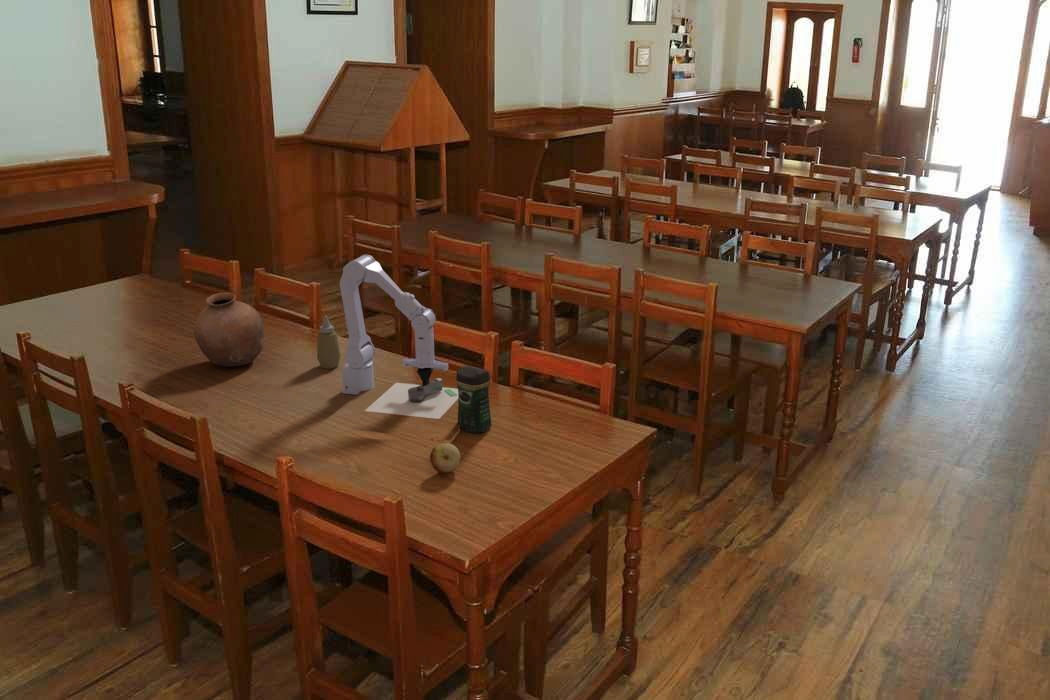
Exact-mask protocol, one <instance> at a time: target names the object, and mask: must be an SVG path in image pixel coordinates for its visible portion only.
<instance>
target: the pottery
mask: <svg viewBox="0 0 1050 700" xmlns="http://www.w3.org/2000/svg"><path fill="white" fill-rule="evenodd" d="M236 297H237V296H236V295H235V293H233V292H218V293H214V294H211V295H210V296H208V297H206V300H205V303H206V307H205V308H203V309H202V311H201V312H199V314H198V316H197V317H196V320H195V322H194V328H193V329H194V330H193V333H194V338H195V341H196V343H197V346H198V347H199V349H200V350H201V352H202V353H203V355H204V356H205V357H206V359H207V360H209V361H210V362H211V363H213V364H215V365H217V366H221V367H225V368H227V367H228V368H231V367H233V368H234V367H235V368H236V367H241V366H246V365H248V364H251V363H252V362H253V361H255V360H256V359H257V358H258V356H259V355H260V354H261V352H262V351H263V348H264V343H265V331H264V330H265V329H264V321H263V319H262V316H261V315H260V313H259V312H258V311H257V310H256V309H255V308H254V307H253V306H251V305H250V304H248V303H245V302H243V301H239V300H236Z"/></svg>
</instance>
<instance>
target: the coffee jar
mask: <svg viewBox="0 0 1050 700" xmlns="http://www.w3.org/2000/svg"><path fill="white" fill-rule="evenodd" d="M455 382H456V386H457V389H458V399H457V401H458V402H457V403H458V404H457V406H458V407H457V424H458V426H459V428H460V429H462V430H464V431H467V432H470V433H473V434H478V433H483V432H487V431H488V430H489V429H490V428H491V427H492V416H491V415H492V414H491V408H490V397H489V396H490V395H489V392H490V391H489V387H490V383H491V377H490V372H489V370H486V369H483V368H479V367H476V366H472V365H469V364H466V365H464V366H460V367H459V368H458V369H457V371H456V376H455Z"/></svg>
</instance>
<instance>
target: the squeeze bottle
mask: <svg viewBox="0 0 1050 700" xmlns="http://www.w3.org/2000/svg"><path fill="white" fill-rule="evenodd" d="M316 339H317V343H316V344H317V346H316V347H317V348H316V349H317V350H316V352H317V353H316V355H317V356H316V358H317V359H316V360H317V361H318V363H319V365H320V367H321V369H324V368H325V369H326V370H329V369H330V370H331V368H332V369H335V367H336V368H337V367H338V366H339V365H340V361H341V357H342V356H341V349H340V344H339V339H338V333H337V332H336V331H335V329H334V325H332V324H331V323H330V320H329V318H328V316H327V315H324V316H323V321H322V325H320V326H319V332H318V333H317V337H316Z"/></svg>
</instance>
